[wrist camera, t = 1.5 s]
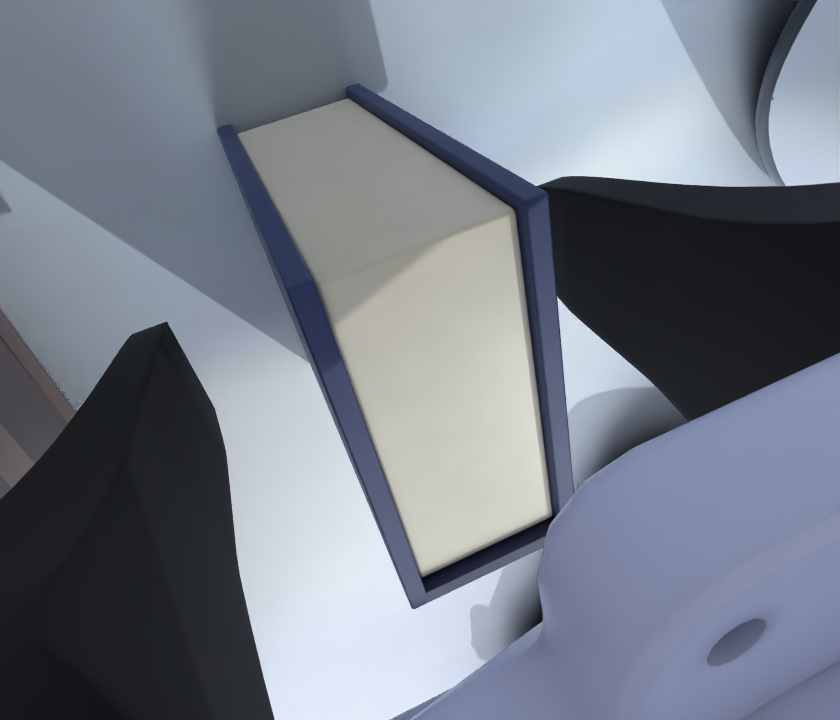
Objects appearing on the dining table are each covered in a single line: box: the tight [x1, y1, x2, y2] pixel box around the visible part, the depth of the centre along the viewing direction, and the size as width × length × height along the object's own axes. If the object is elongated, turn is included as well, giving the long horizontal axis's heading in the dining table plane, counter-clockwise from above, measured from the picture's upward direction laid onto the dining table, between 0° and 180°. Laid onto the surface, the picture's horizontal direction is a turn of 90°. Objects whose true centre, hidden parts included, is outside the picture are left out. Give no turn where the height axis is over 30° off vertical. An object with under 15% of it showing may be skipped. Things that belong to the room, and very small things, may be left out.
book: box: [217, 84, 574, 609], centre depth 11 cm, size 3×6×8 cm, turn 13°
